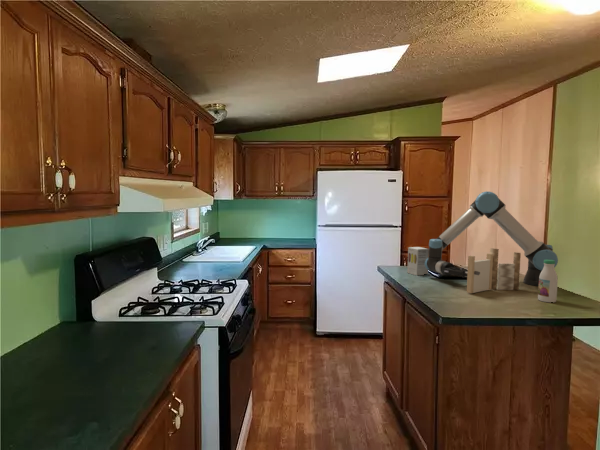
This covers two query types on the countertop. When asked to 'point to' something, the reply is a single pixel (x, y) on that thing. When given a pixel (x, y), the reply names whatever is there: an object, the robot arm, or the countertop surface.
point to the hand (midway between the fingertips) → (474, 276)
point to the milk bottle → (548, 282)
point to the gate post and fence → (505, 273)
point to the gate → (479, 274)
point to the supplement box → (417, 260)
